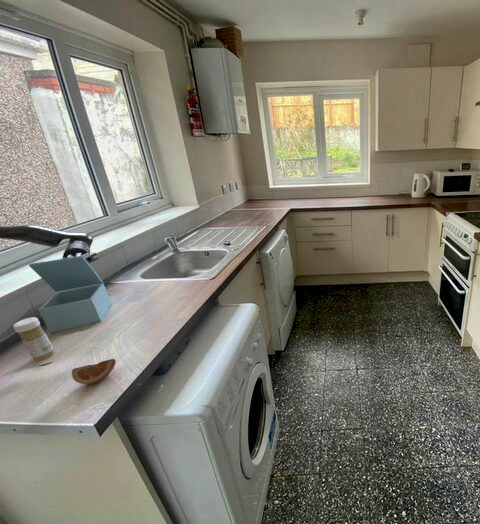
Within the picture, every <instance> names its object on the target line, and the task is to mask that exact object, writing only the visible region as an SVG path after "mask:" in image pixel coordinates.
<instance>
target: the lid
mask: <svg viewBox="0 0 480 524" xmlns="http://www.w3.org/2000/svg"><path fill="white" fill-rule="evenodd" d="M90 264H91V263H88V262H87V261H86V259H85V258H84V257H83V256H78V257H71V258H65V259H62V258H59V259H53V260H46V261H39V262H33V263H29V264H28V266H29V268H30V269H31V270H33V272H35V273H36V274H37V275H38V276H39V277H40V278H41V279H42V280H43V281H44V282H45V283H46V284H47V285H48V286H49V287H50V288H51V289H52V290H53V291H54V292H55V293H56V292H60V291H66V290H71V289H77V288H82V287H87V286H93V285H98V284H104V281H103V280H102V278H101V277H100V275H98V273H97V272H96V271H95V269H94V268H93V267H92V266H91V265H90Z"/></svg>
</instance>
